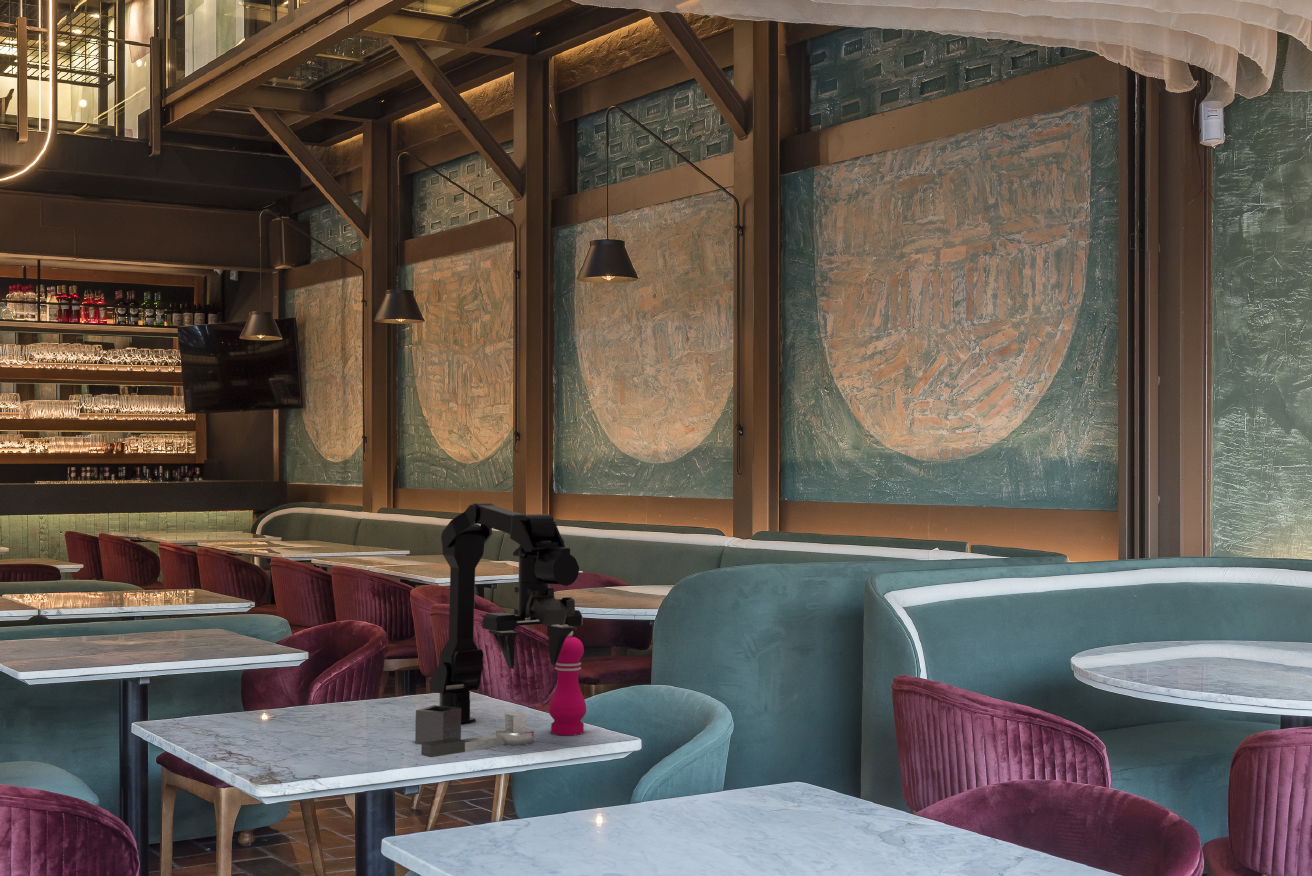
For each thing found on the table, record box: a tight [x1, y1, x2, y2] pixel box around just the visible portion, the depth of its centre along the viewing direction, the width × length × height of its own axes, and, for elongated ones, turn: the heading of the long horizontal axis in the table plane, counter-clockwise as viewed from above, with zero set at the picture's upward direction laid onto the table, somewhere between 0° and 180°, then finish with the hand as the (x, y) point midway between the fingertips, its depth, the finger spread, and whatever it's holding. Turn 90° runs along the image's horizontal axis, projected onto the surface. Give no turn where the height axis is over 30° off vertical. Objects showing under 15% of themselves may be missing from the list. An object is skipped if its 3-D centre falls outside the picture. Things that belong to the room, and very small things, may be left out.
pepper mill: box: [548, 631, 587, 736], centre depth 246 cm, size 7×7×20 cm
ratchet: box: [420, 711, 535, 758], centre depth 232 cm, size 7×22×5 cm, turn 131°
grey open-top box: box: [414, 704, 462, 745], centre depth 236 cm, size 6×6×6 cm
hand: (532, 666), depth 235 cm, fingers open, 9 cm apart
